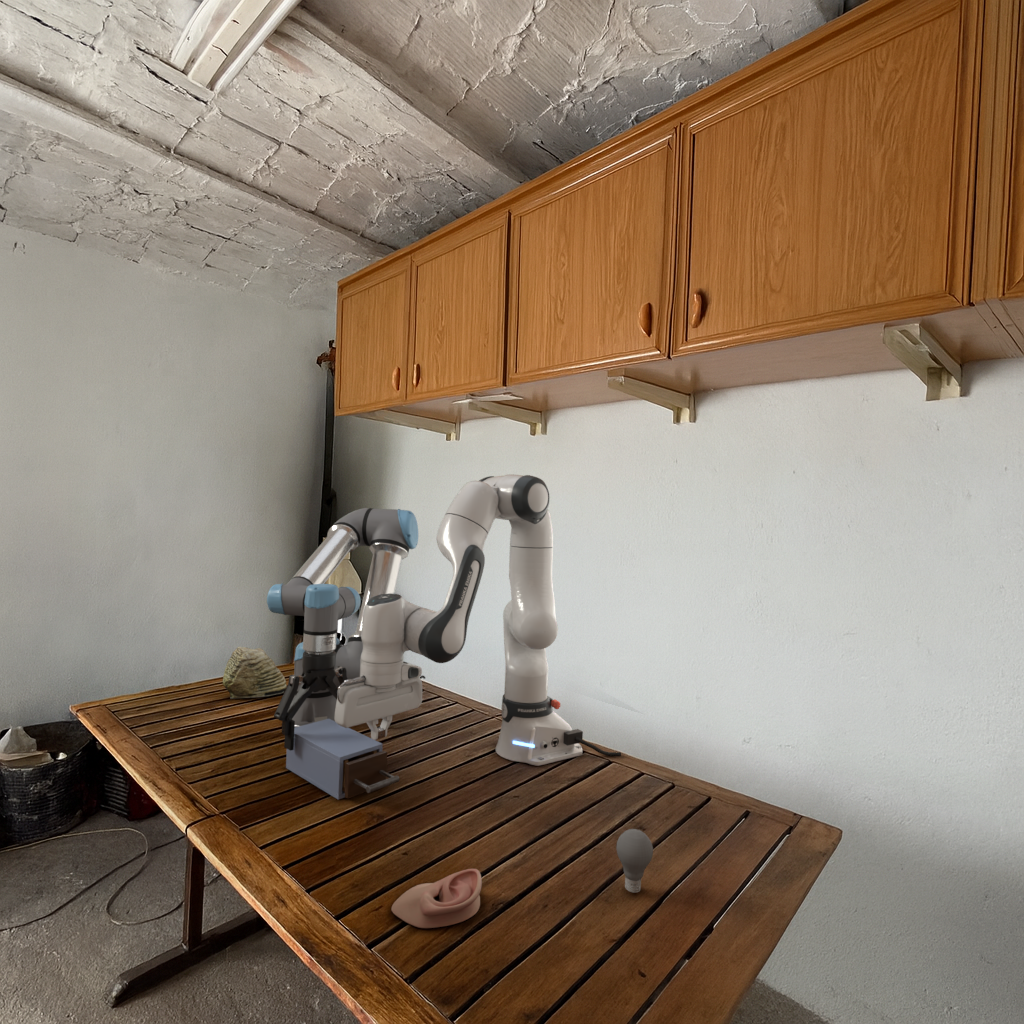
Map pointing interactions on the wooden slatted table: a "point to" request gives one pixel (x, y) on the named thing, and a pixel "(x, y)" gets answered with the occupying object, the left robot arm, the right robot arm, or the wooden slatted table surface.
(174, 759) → the wooden slatted table surface
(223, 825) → the wooden slatted table surface
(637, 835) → the light bulb
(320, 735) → the cabinet
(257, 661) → the fossil
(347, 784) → the drawer
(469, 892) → the anatomical model
